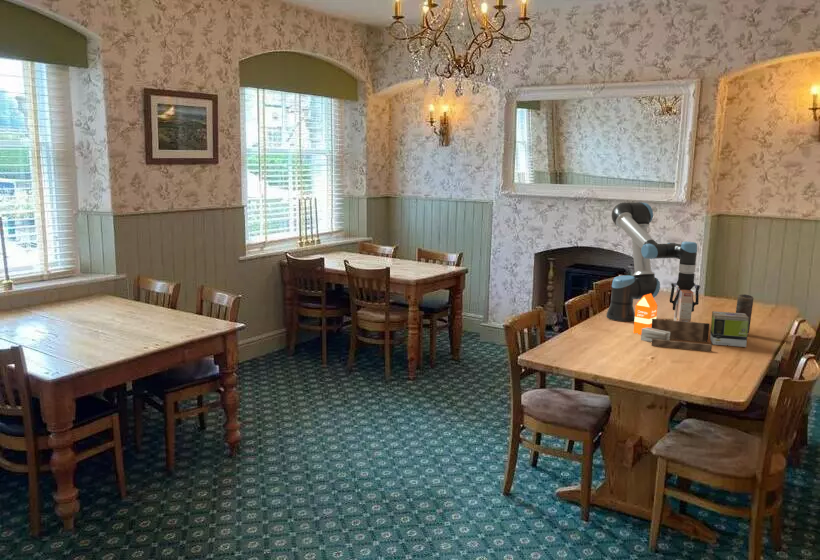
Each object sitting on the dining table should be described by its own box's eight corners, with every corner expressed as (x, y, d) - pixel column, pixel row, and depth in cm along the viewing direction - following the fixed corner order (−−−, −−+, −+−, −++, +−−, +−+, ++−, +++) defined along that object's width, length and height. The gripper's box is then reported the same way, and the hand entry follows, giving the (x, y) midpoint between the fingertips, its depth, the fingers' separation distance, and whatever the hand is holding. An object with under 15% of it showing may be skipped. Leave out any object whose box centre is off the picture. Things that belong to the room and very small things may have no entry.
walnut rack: (651, 345, 317) (653, 327, 315) (650, 336, 334) (652, 318, 333) (711, 351, 309) (713, 332, 308) (707, 341, 327) (709, 323, 325)
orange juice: (655, 332, 341) (658, 294, 338) (647, 336, 335) (651, 296, 331) (640, 330, 346) (643, 292, 343) (632, 333, 340) (636, 294, 337)
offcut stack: (663, 346, 318) (665, 333, 317) (639, 340, 327) (640, 328, 326) (670, 344, 322) (671, 331, 321) (646, 338, 331) (647, 326, 330)
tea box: (742, 342, 326) (746, 312, 324) (746, 348, 317) (749, 317, 314) (709, 339, 331) (712, 310, 328) (711, 344, 321) (714, 314, 319)
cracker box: (690, 333, 336) (694, 292, 332) (677, 332, 337) (681, 291, 333) (685, 326, 350) (688, 287, 346) (672, 325, 351) (676, 286, 347)
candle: (749, 333, 344) (753, 295, 340) (749, 336, 337) (754, 297, 334) (732, 331, 347) (736, 293, 344) (732, 334, 341) (737, 296, 337)
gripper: (666, 272, 337) (662, 317, 342) (708, 275, 332) (703, 320, 336) (666, 270, 345) (662, 313, 349) (706, 272, 339) (702, 317, 343)
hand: (682, 317), depth 342 cm, fingers closed on cracker box, 6 cm apart
